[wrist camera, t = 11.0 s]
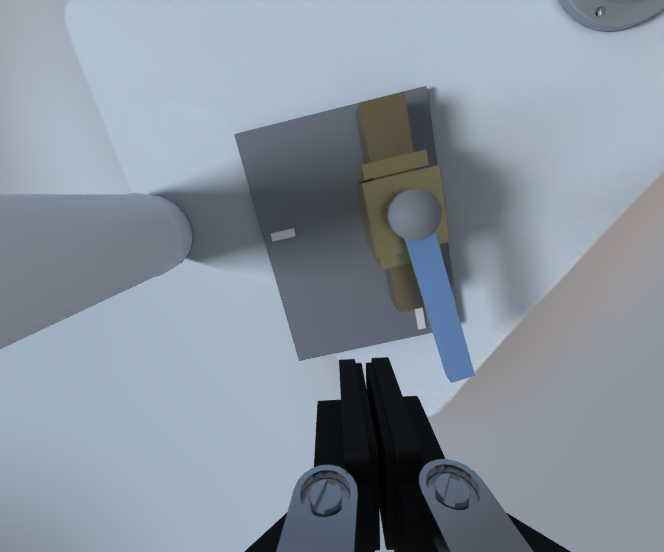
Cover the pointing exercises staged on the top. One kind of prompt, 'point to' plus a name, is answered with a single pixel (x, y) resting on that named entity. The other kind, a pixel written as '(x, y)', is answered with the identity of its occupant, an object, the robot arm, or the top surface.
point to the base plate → (328, 229)
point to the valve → (393, 190)
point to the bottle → (80, 253)
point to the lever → (431, 275)
